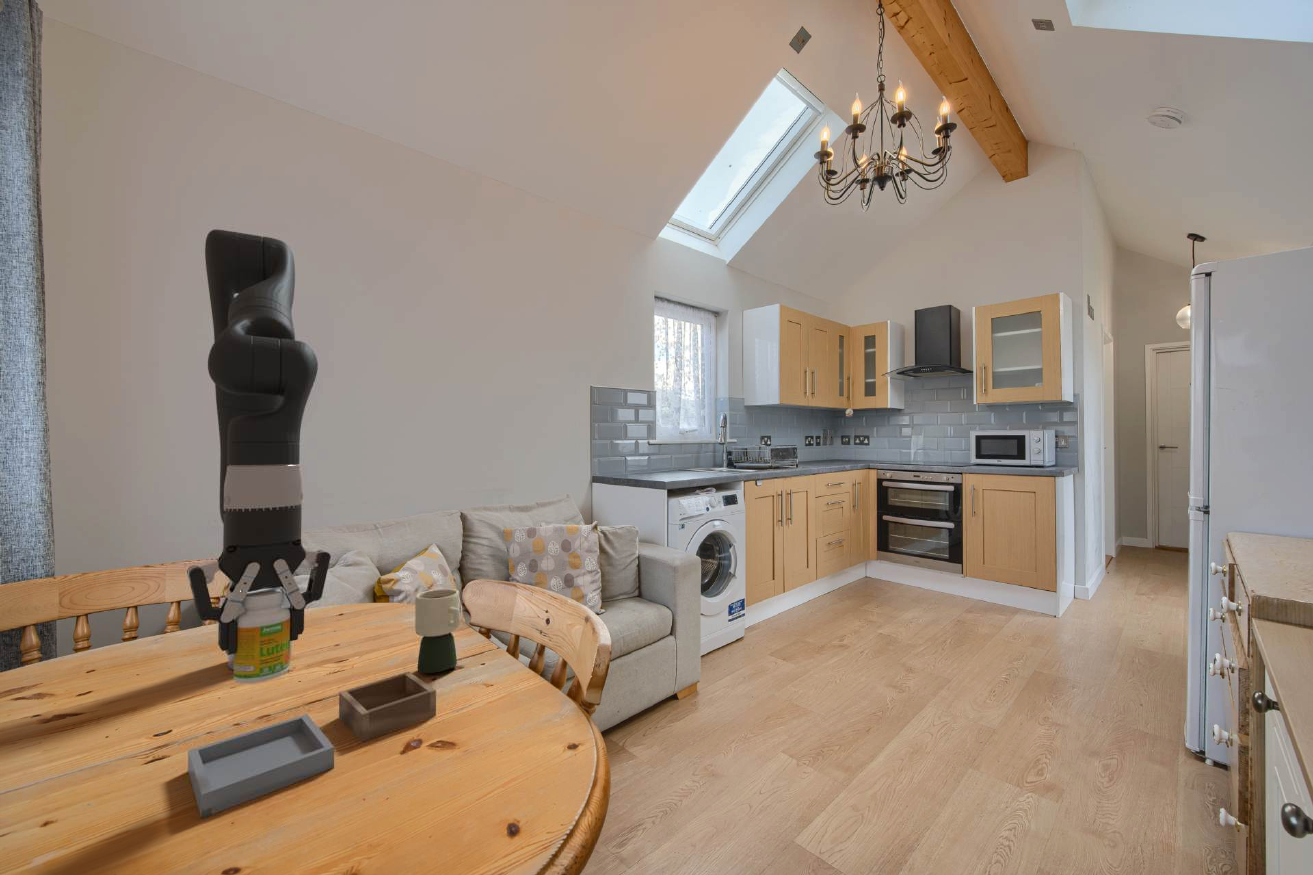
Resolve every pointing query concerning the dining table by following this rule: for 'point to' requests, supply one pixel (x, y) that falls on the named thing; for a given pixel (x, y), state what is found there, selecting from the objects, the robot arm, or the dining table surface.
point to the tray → (257, 763)
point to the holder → (386, 705)
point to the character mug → (437, 628)
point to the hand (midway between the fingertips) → (262, 645)
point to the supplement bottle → (262, 637)
